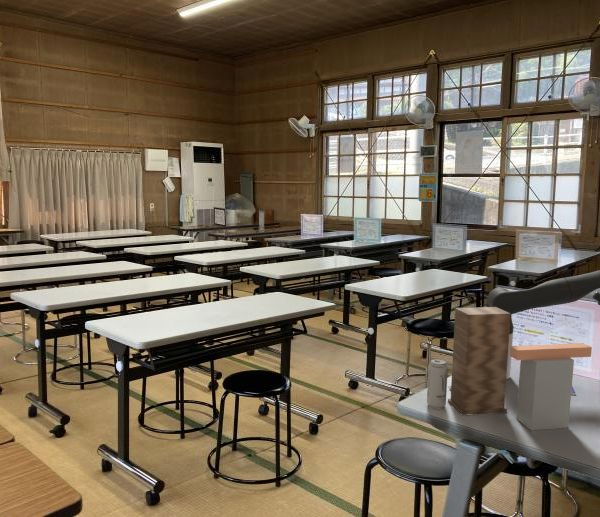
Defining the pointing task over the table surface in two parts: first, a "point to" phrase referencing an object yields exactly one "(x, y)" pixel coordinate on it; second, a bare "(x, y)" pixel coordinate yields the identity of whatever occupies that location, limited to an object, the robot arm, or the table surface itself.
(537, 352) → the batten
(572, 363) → the gray rectangular block
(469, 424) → the table surface
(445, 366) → the energy drink can
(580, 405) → the table surface
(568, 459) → the table surface
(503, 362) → the pedestal
